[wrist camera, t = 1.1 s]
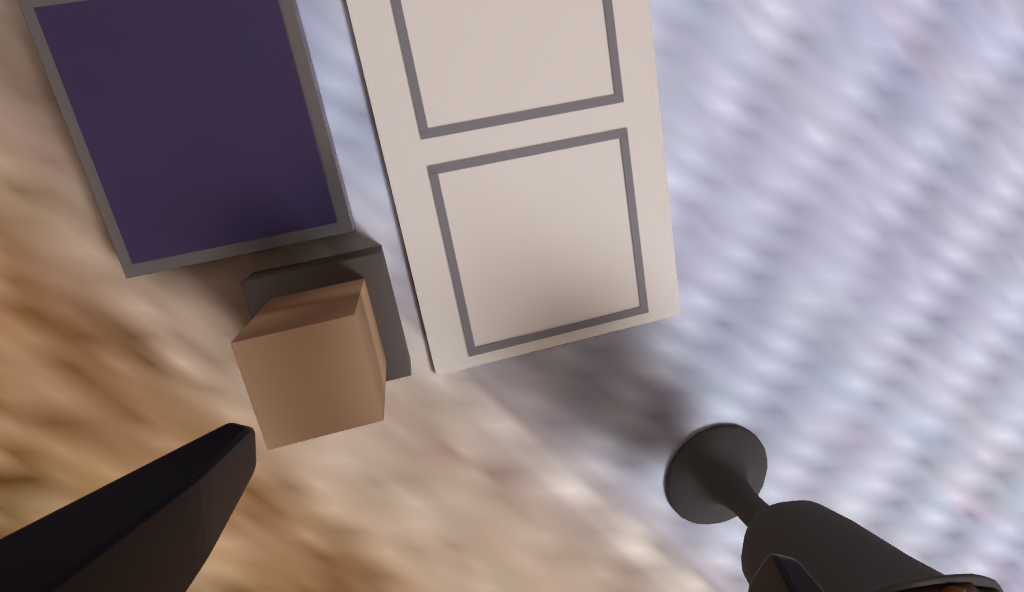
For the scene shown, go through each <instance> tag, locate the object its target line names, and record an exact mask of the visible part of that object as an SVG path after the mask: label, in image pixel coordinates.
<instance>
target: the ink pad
mask: <svg viewBox="0 0 1024 592" xmlns="http://www.w3.org/2000/svg"><path fill="white" fill-rule="evenodd" d="M17 1H18V3H19V6H20V8H21V11H22V13H23V16H24V18H25V21H26V23H27V26H28V29H29V31H30V34H31V36H32V39H33V41H34V44H35V46H36V49H37V52H38V54H39V57H40V59H41V62H42V64H43V67H44V69H45V72H46V75H47V77H48V80H49V82H50V85H51V87H52V90H53V92H54V95H55V97H56V100H57V103H58V105H59V108H60V110H61V113H62V115H63V118H64V120H65V123H66V126H67V128H68V131H69V133H70V136H71V138H72V141H73V143H74V146H75V149H76V151H77V154H78V156H79V159H80V161H81V164H82V166H83V169H84V172H85V174H86V177H87V179H88V182H89V184H90V187H91V189H92V192H93V194H94V197H95V200H96V202H97V205H98V207H99V210H100V212H101V215H102V217H103V220H104V223H105V225H106V228H107V230H108V233H109V235H110V238H111V240H112V243H113V246H114V248H115V251H116V253H117V256H118V258H119V261H120V263H121V266H122V268H123V271H124V274H125V276H126V278H131V277H136V276H141V275H146V274H150V273H155V272H160V271H165V270H170V269H175V268H179V267H184V266H189V265H194V264H199V263H204V262H208V261H213V260H218V259H223V258H228V257H232V256H237V255H242V254H247V253H252V252H257V251H261V250H266V249H271V248H276V247H281V246H286V245H290V244H295V243H300V242H305V241H310V240H315V239H319V238H324V237H329V236H334V235H339V234H344V233H348V232H353V231H354V230H355V228H356V227H355V223H354V219H353V215H352V212H351V208H350V204H349V200H348V197H347V193H346V189H345V185H344V181H343V178H342V174H341V170H340V166H339V162H338V159H337V155H336V151H335V147H334V143H333V140H332V136H331V132H330V128H329V124H328V121H327V117H326V113H325V109H324V105H323V102H322V98H321V94H320V90H319V86H318V83H317V79H316V75H315V71H314V67H313V64H312V60H311V56H310V52H309V48H308V45H307V41H306V37H305V33H304V29H303V26H302V22H301V18H300V14H299V10H298V7H297V3H296V0H17Z"/></svg>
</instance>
